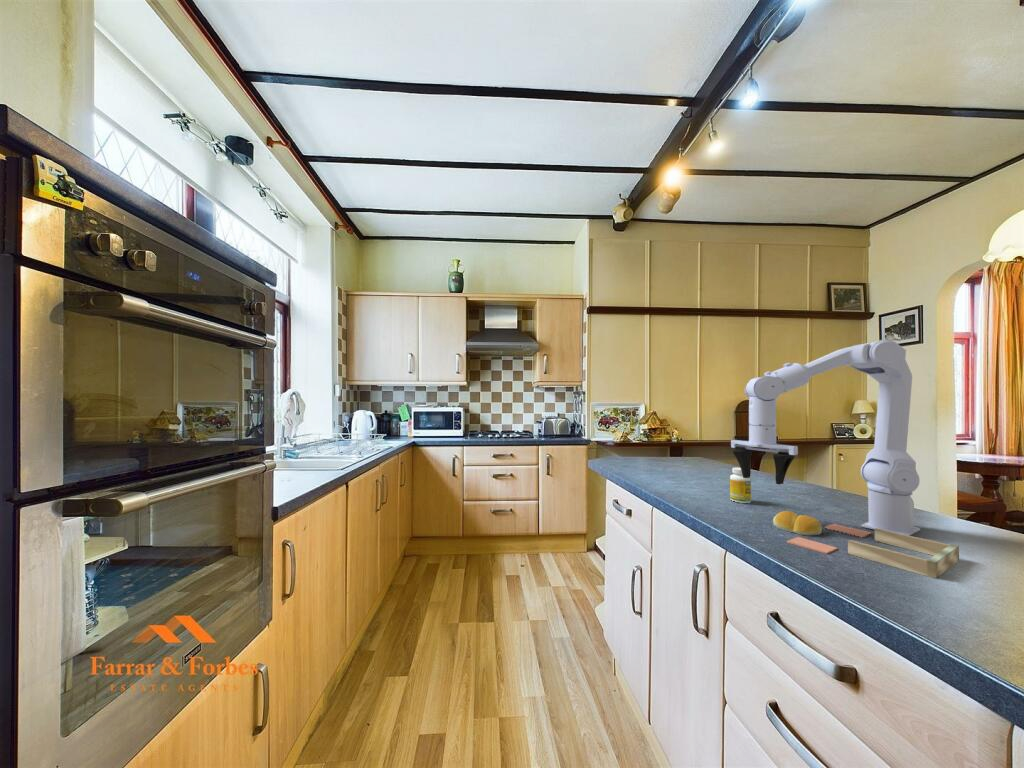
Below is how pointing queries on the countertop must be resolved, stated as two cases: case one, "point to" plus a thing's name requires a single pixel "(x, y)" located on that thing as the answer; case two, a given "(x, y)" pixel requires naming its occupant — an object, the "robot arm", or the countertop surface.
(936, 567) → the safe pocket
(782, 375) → the robot arm
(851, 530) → the mats
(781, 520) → the bread roll
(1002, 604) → the countertop surface
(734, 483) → the supplement bottle
